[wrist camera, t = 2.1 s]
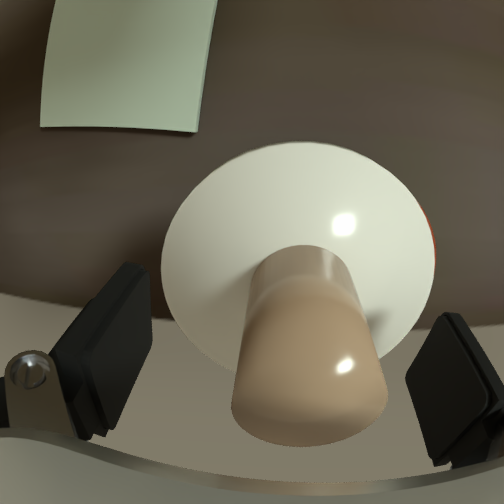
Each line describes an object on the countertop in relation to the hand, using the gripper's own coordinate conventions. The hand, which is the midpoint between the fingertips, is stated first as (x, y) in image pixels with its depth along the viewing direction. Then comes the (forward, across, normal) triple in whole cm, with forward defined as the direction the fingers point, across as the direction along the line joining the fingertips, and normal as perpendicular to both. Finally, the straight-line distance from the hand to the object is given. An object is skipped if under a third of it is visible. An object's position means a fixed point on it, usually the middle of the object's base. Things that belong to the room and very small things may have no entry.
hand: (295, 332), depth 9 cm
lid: (+3, 0, 0) cm, 3 cm away
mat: (+13, +13, -10) cm, 21 cm away
